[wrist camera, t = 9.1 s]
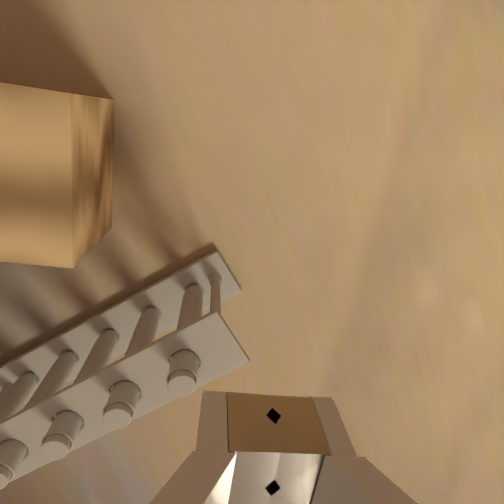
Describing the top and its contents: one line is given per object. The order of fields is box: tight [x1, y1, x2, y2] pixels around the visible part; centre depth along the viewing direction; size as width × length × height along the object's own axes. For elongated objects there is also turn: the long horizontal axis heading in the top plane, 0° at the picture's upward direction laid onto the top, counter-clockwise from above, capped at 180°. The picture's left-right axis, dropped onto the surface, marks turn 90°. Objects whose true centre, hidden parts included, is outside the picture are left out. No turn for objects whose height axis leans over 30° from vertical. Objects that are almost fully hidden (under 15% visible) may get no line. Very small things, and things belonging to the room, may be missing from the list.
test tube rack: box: [0, 249, 250, 489], centre depth 28 cm, size 25×4×13 cm, turn 118°
